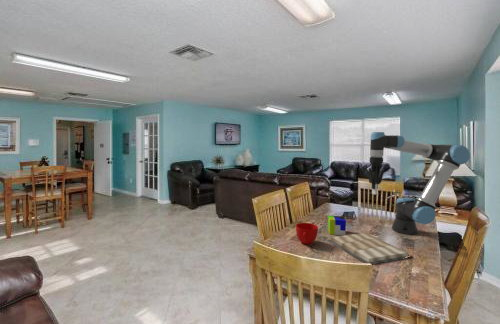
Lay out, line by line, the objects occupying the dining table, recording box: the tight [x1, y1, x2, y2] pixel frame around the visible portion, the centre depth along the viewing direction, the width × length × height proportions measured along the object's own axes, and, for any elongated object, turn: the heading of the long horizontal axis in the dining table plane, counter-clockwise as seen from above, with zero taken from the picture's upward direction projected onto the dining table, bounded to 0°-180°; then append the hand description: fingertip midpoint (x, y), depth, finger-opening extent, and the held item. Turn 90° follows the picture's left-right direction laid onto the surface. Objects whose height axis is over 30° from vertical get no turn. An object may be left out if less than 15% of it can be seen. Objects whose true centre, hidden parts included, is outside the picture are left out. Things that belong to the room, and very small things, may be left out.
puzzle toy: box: [327, 215, 347, 236], centre depth 172 cm, size 10×10×10 cm
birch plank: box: [355, 244, 409, 263], centre depth 136 cm, size 26×10×2 cm, turn 108°
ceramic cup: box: [295, 222, 319, 245], centre depth 152 cm, size 13×17×10 cm
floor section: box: [327, 232, 414, 265], centre depth 146 cm, size 30×33×2 cm
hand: (374, 194), depth 161 cm, fingers closed
